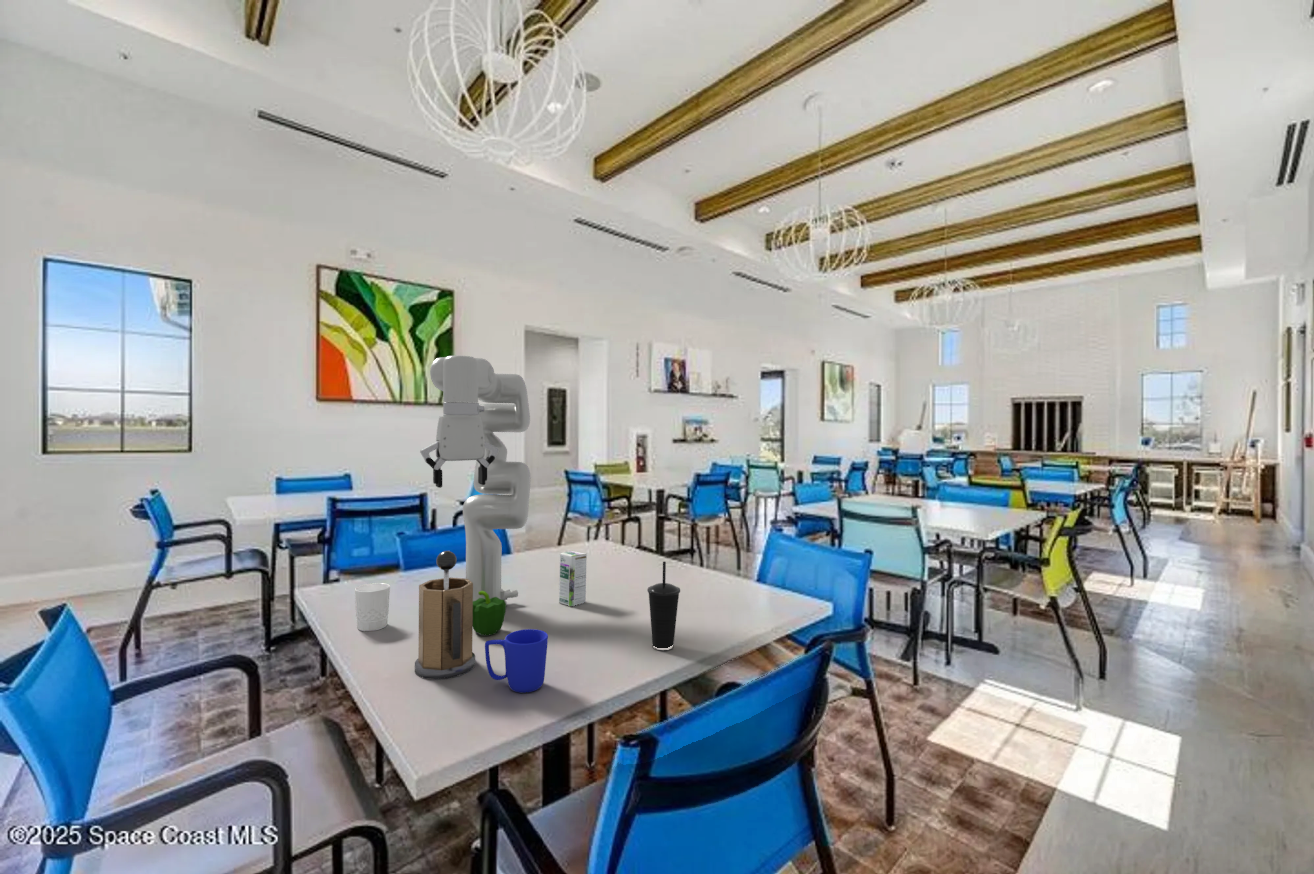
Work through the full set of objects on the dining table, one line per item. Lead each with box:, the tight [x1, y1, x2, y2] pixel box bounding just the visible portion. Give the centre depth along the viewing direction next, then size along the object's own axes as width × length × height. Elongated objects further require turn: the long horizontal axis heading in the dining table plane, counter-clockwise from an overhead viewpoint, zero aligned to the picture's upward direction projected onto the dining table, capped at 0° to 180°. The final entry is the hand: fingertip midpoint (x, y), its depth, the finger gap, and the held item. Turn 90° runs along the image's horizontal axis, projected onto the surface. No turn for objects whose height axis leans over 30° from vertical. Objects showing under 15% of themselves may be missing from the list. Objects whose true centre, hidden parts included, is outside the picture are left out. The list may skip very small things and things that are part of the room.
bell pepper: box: [473, 591, 507, 636], centre depth 141 cm, size 8×8×10 cm
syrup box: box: [558, 550, 588, 607], centre depth 165 cm, size 6×6×14 cm
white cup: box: [354, 582, 391, 632], centre depth 143 cm, size 8×8×10 cm
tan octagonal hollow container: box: [414, 576, 476, 680], centre depth 119 cm, size 12×14×18 cm
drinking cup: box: [647, 561, 681, 648], centre depth 133 cm, size 8×8×20 cm
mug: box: [484, 628, 549, 694], centre depth 111 cm, size 8×12×10 cm
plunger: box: [436, 550, 458, 590], centre depth 120 cm, size 8×8×19 cm
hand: (460, 485), depth 131 cm, fingers open, 9 cm apart
